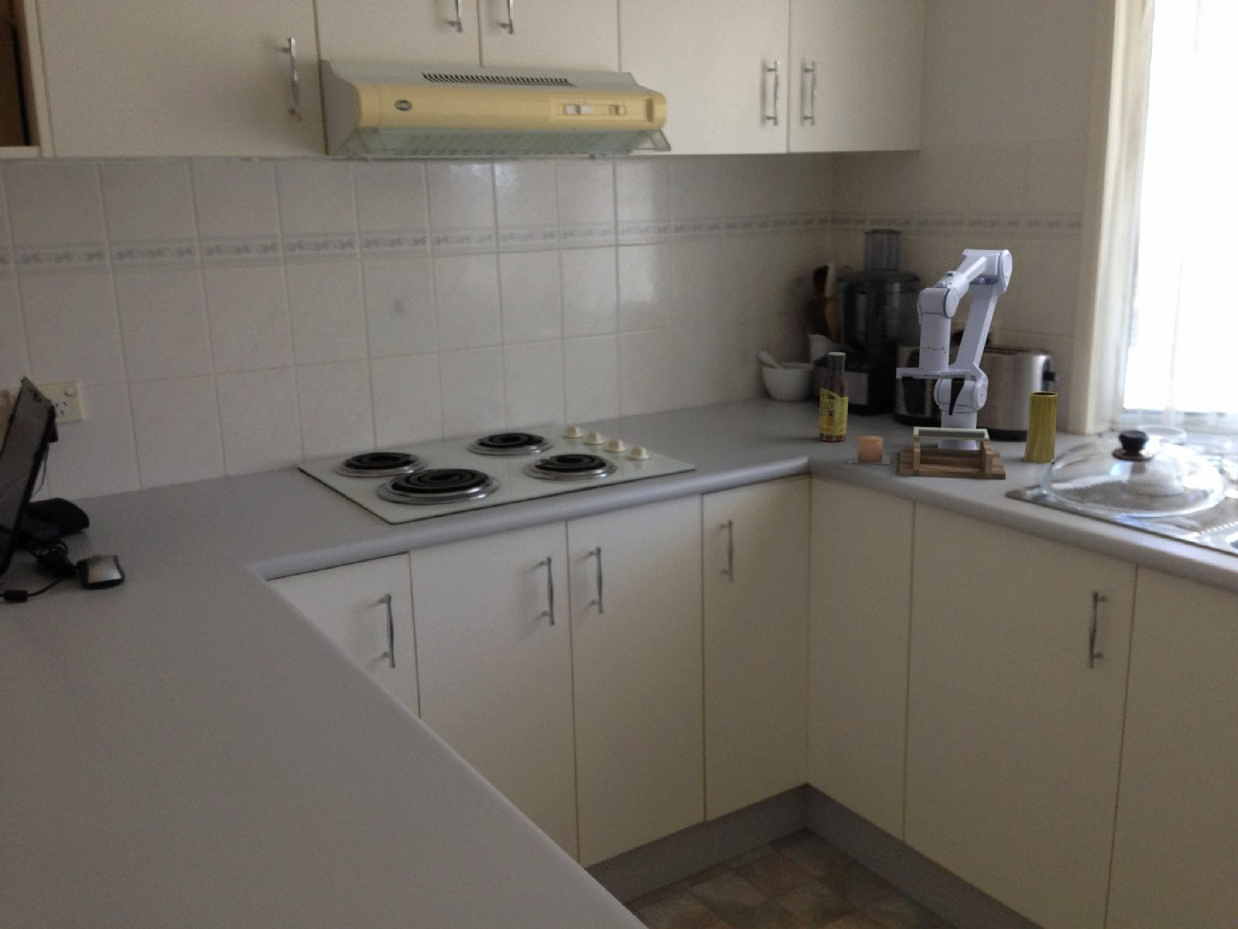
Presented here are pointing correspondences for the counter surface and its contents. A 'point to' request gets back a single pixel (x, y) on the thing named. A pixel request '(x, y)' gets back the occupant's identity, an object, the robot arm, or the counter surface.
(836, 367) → the sauce bottle
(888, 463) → the coaster
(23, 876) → the counter surface
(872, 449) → the tan rounded cylinder
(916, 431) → the cover
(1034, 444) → the vase
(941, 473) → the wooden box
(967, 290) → the robot arm
